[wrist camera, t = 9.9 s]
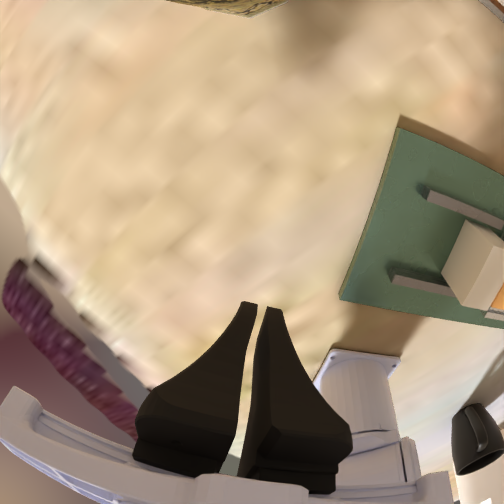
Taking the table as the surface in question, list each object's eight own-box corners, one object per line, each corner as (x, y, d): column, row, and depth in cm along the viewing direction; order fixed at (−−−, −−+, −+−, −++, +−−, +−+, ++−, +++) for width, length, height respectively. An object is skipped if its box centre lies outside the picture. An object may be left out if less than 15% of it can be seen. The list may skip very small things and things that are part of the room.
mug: (493, 377, 29) (515, 431, 21) (487, 413, 33) (502, 458, 25) (442, 402, 32) (457, 460, 23) (444, 433, 36) (455, 480, 28)
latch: (482, 284, 22) (505, 315, 18) (440, 273, 22) (462, 307, 18) (506, 236, 19) (535, 263, 15) (465, 219, 19) (495, 246, 15)
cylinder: (512, 419, 35) (542, 533, 11) (523, 432, 39) (547, 523, 15) (441, 461, 43) (455, 572, 18) (465, 468, 47) (479, 557, 22)
